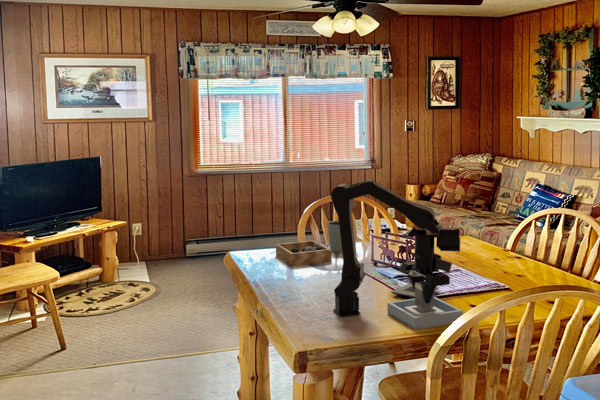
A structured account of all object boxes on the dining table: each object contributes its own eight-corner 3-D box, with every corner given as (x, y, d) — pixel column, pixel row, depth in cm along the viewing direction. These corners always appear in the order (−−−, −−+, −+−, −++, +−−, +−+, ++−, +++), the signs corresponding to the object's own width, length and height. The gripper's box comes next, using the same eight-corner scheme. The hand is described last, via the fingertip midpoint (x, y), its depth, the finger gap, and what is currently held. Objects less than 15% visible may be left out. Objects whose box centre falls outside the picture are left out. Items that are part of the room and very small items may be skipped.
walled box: (414, 329, 192) (414, 318, 192) (387, 313, 207) (387, 302, 206) (462, 322, 198) (462, 310, 197) (432, 306, 213) (432, 295, 212)
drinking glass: (326, 252, 288) (326, 224, 286) (329, 247, 298) (329, 220, 296) (350, 252, 286) (350, 224, 285) (352, 247, 296) (352, 220, 294)
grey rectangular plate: (411, 288, 235) (411, 281, 234) (439, 293, 228) (439, 286, 228) (391, 297, 225) (391, 290, 224) (419, 303, 218) (419, 296, 218)
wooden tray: (291, 266, 266) (291, 253, 265) (276, 255, 284) (275, 244, 283) (331, 261, 272) (331, 249, 271) (313, 251, 290) (313, 240, 289)
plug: (421, 309, 199) (422, 285, 198) (414, 305, 203) (415, 282, 202) (433, 307, 201) (433, 284, 200) (426, 303, 204) (426, 280, 203)
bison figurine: (325, 259, 277) (305, 255, 283) (325, 242, 276) (306, 238, 282) (308, 265, 268) (288, 261, 274) (308, 248, 267) (288, 244, 273)
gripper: (466, 254, 193) (465, 306, 196) (431, 241, 211) (430, 289, 213) (432, 258, 189) (431, 311, 192) (399, 244, 207) (399, 294, 209)
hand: (423, 301), depth 202 cm, fingers closed on plug, 4 cm apart
